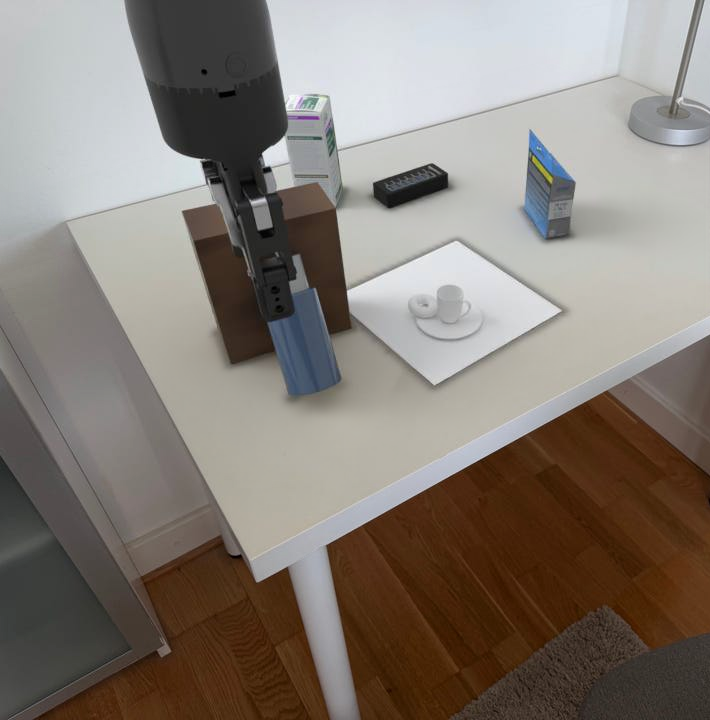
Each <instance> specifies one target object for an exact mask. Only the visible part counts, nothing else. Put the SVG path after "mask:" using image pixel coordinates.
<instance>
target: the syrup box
mask: <svg viewBox="0 0 710 720" xmlns="http://www.w3.org/2000/svg"><path fill="white" fill-rule="evenodd" d="M285 106H286V112H287V117H288V129H287V132H286V134H285V136H284V142H285V146H286V152H287V157H288V162H289V163H288V164H289V167H290V171H291V172H290V173H291V177H292V181H293V187H296V186H301V185H306V184H310V183H315V182H318V183H319V185H320V186H321V188H322V189H323V191H324V192H325V193H326V195H327V196H328V198H329V199H330V201H331V202H332V204H333V205H334V206H335V208H336V209H337V205H338V202H339V201H340V198H341V194H342V192H343V188H344V186H343V179H342V173H341V166H340V158H339V152H338V144H337V137H336V131H335V130H336V129H335V123H334V116H333V109H332V103H331V96H330V95H327V94H319V93H296V94H294V93H293V94H289V95H288V98H287V100H285Z"/></svg>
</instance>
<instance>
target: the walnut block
mask: <svg viewBox="0 0 710 720" xmlns="http://www.w3.org/2000/svg"><path fill="white" fill-rule="evenodd" d="M275 192H277V193H278V195H279V197H281V199H282V202H283V206H282V209H283V214H284V219H285V224H286V229H287V234H288V238H289V243H290V248H291V253H292V254H300V256H301V259H302V263H303V266H304V270H305V273H306V277H307V280H308V284H309V286H315V287H316V290H317V293H318V297H319V300H320V304H321V307H322V311H323V314H324V318H325V321H326V325H327V329H328V332H329V336H331V335H335V334H338V333H341V332H344V331H348V330H351V329H352V327H353V326H352V319H351V313H350V311H349V304H348V296H347V291H348V290H347V281H346V274H345V267H344V259H343V251H342V244H341V238H340V237H341V236H340V229H339V221H338V215H337V207H336V208H335V206H334V205H333V204H332V202H331V201H330V199H329V198H328V196H327V195H326V193H325V192H324V191H323V189H322V188H321V186H320V185H319V183H318V182H315V183H310V184H306V185H301V186H296V187H294V186H292V187H288V188H284V189H282V188H281V189H278V190H277V189H276V191H275ZM181 214H182V217H183V221H184V223H185V227H186V231H187V234H188V237H189V241H190V244H191V247H192V250H193V254H194V256H195V259H196V263H197V266H198V269H199V273H200V276H201V279H202V283H203V285H204V289H205V293H206V295H207V299H208V302H209V305H210V309H211V312H212V315H213V319H214V322H215V324H216V328H217V331H218V335H219V337H220V340H221V342H222V345H223V347H224V350H225V353H226V356H227V358H228V361H229V364H230V365H233V364H236V363H239V362H243V361H247V360H250V359H254V358H256V357H260V356H263V355H267V354H270V353H273V352H275V348H274V345H273V342H272V339H271V335H270V332H269V329H268V326H267V322H266V321H265V320H264V319H263V317H262V315H261V312H260V308H259V304H258V300H257V296H256V292H255V288H254V284H253V281H252V278H251V277H249V275H248V272H247V270H249V269H248V266H247V263H246V260H245V257H243V258H238V257H236V256H235V254H234V251H233V249H232V245H231V241H230V238H229V234H228V230H227V227H226V223H225V220H224V217H223V214H222V212H221V210H220V208H218V207H217V204H216V203H213V204H208V205H203V206H198V207H193V208H189V209H184V210H181ZM274 257H276V253H271V254H267V255H263V256H262V257H261V258H260V261H262V260H266V259H270V258H274Z"/></svg>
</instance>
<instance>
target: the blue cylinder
mask: <svg viewBox="0 0 710 720" xmlns="http://www.w3.org/2000/svg"><path fill="white" fill-rule="evenodd" d="M292 258H293V263H294V266H295V267H296V270H297V274H296V277H297V279H296V280H293V281H289V284H290V289H291V294H292V299H293V304H294V309H295V312H294V314H293V315H292V316H290V317H287V318H284V319H280V320H277V321H273V322H267V326H268V329H269V332H270V335H271V339H272V342H273V345H274V348H275V351H274V352H275V355H276V359H277V361H278V365H279V368H280V370H281V371H280V372H281V374H282V377H283V380H284V384H285V387H286V390H287V393H288V395H289V396H293V397H301V396H308V395H313V394H317V393H319V392H323V391H325V390H328V389H331V388H333V387H335V386H336V385H338V384H339V383H341V381H342V379H343V378H342V375H341V372H340V367H339V364H338V360H337V357H336V354H335V350H334V346H333V343H332V340H331V335H329V332H328V329H327V325H326V321H325V318H324V314H323V311H322V307H321V304H320V300H319V297H318V293H317V290H316V287H315V286H309V284H308V280H307V277H306V273H305V270H304V266H303V263H302V259H301V256H300V254H292Z"/></svg>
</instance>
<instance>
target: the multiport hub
mask: <svg viewBox="0 0 710 720" xmlns="http://www.w3.org/2000/svg"><path fill="white" fill-rule="evenodd" d="M448 188H449V173H448V172H447V171H446V170H444V169H442V168H441V167H439V166H438V165H437V164H435V163H432V162H431V163H428V164H425V165H421V166H418V167H415V168H412V169H409V170H406V171H403V172H400V173H397V174H395V175H392V176H388V177H385V178H382V179H380V180H376V181H373V182H372V190H373V191H372V192H373V197H374V199H375V200H376V201H378V202H379V203H380V204H382V205H384V207H386V208H387V209H393V208H395V207H398V206H400V205H403V204H404V205H405V204H407V203H410V202H412V201H414V200H418V199H421V198H423V197H426V196H429V195H432V194H434V193H437V192H440V191H443V190H446V189H448Z"/></svg>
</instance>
